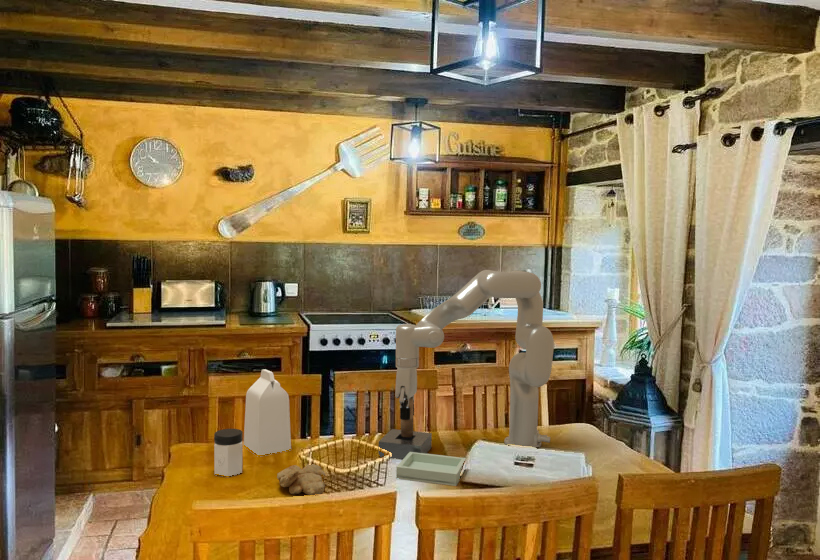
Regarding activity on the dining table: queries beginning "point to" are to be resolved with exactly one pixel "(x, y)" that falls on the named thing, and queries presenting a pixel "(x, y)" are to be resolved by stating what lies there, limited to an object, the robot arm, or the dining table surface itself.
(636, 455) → the dining table surface
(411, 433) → the walnut peg
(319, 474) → the ginger root
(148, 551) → the dining table surface
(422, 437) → the block
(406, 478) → the sage tray
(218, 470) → the jar
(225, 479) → the dining table surface
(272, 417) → the milk
